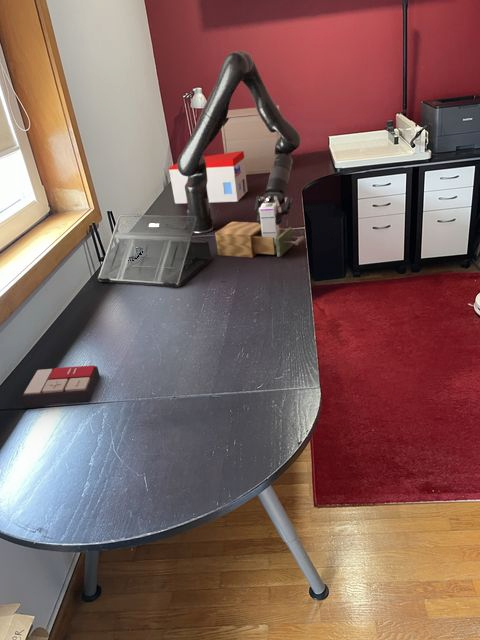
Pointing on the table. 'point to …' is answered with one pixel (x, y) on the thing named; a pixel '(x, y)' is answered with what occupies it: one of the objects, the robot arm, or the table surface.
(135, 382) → the table surface
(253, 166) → the cabinet
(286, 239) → the drawer
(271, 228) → the syrup box
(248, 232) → the cabinet
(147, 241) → the laptop stand
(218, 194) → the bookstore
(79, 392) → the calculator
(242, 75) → the robot arm
